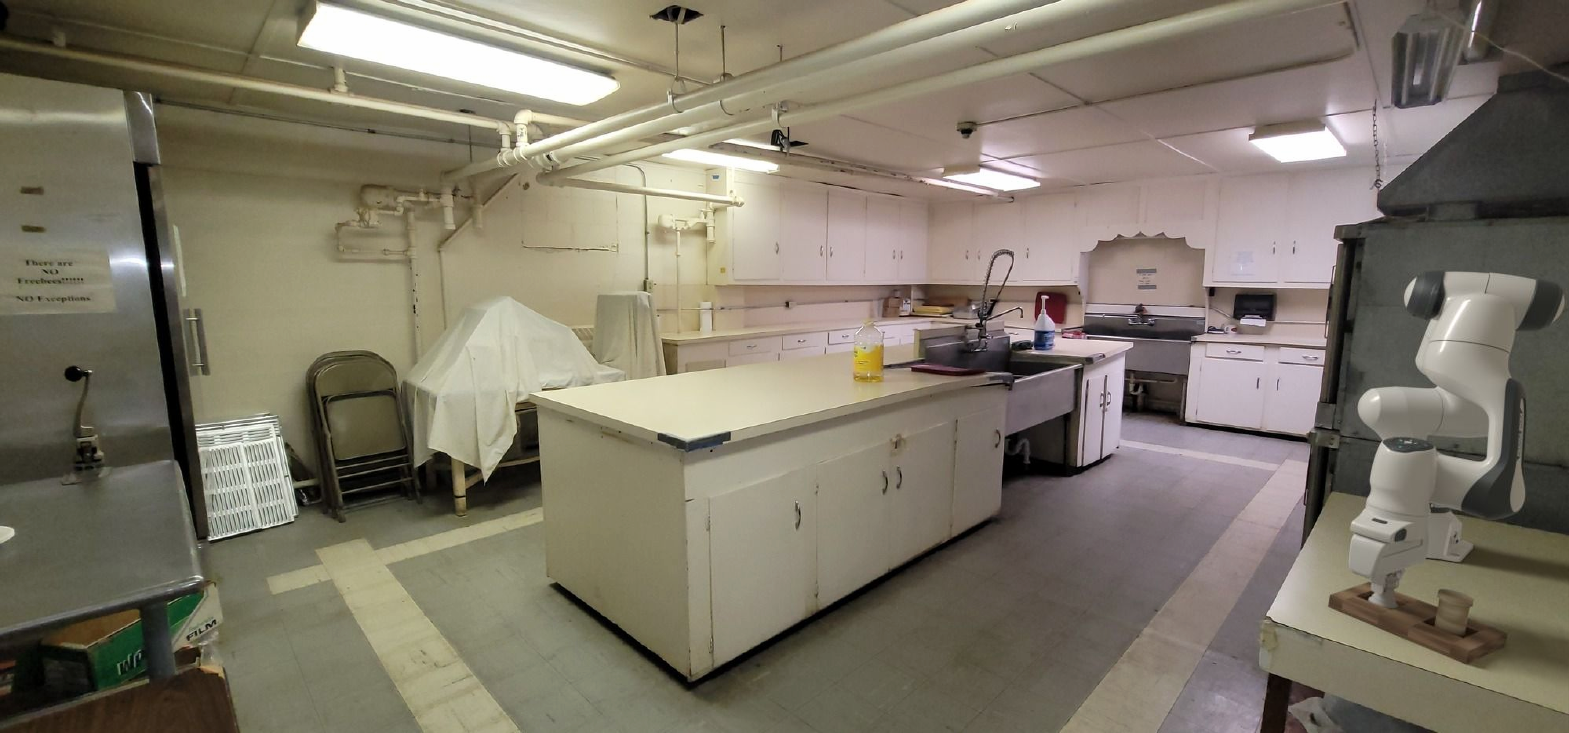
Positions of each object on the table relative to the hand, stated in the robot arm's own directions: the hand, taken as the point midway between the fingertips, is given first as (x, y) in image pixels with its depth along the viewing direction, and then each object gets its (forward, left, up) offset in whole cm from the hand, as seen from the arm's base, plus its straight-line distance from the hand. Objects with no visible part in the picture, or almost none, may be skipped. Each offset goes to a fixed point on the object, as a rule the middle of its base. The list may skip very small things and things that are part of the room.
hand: (1384, 589), depth 122 cm
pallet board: (0, +5, -5) cm, 7 cm away
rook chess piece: (0, 0, -4) cm, 4 cm away
